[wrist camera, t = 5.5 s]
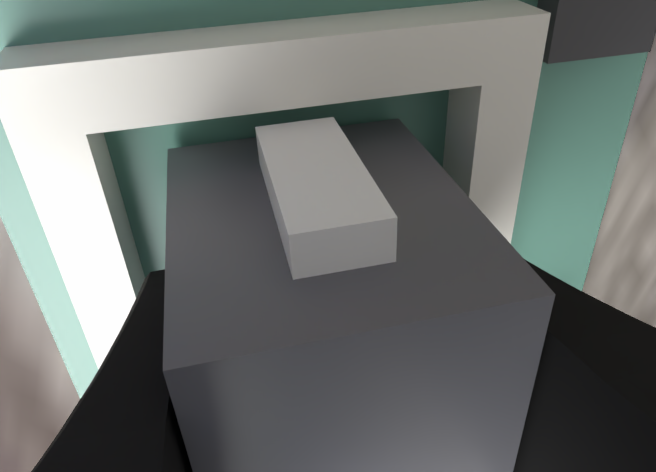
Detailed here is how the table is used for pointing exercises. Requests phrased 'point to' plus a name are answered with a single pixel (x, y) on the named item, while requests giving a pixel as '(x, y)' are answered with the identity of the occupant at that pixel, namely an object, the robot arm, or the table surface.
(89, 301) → the board
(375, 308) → the plug
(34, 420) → the table surface
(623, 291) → the table surface
